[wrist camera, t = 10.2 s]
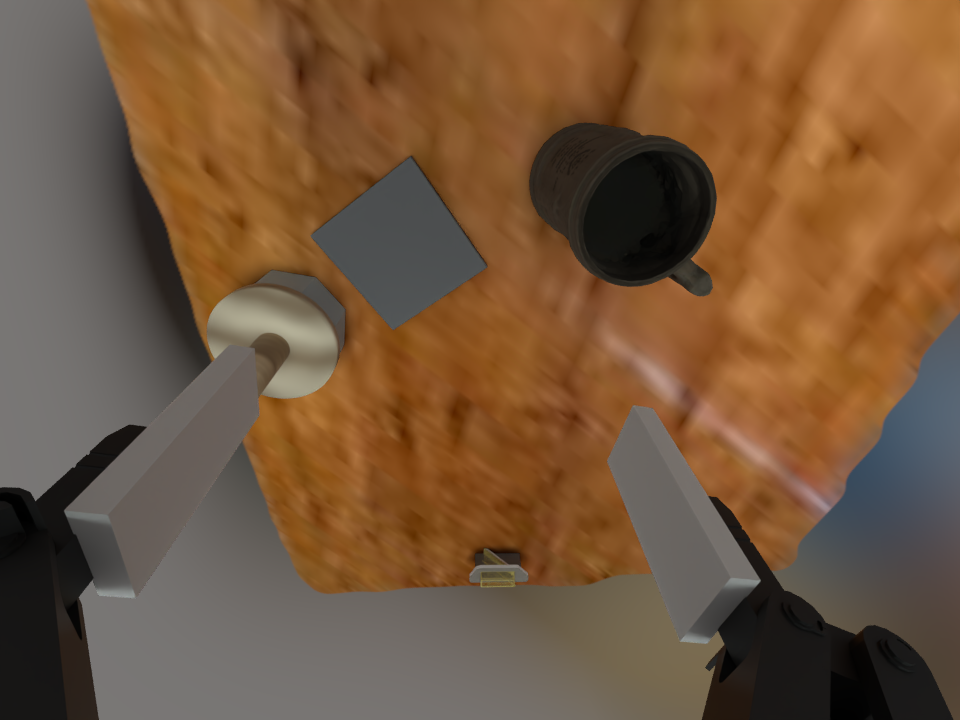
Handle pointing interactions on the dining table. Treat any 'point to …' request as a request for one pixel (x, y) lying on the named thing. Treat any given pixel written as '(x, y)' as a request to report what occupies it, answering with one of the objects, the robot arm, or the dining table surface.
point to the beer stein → (627, 203)
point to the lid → (277, 337)
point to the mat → (400, 245)
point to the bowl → (311, 296)
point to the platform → (498, 569)
